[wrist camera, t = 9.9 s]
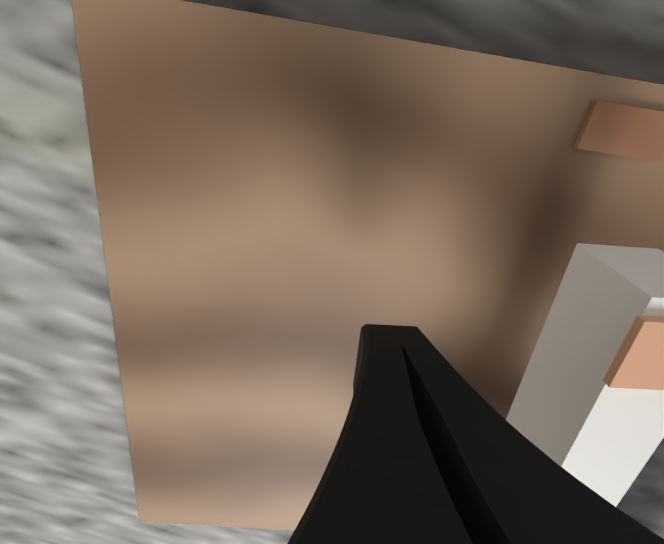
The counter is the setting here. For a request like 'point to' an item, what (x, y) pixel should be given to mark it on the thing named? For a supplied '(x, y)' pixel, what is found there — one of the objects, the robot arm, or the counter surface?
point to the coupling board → (329, 227)
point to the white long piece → (599, 369)
